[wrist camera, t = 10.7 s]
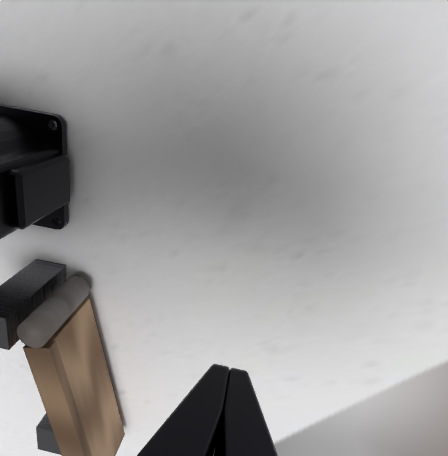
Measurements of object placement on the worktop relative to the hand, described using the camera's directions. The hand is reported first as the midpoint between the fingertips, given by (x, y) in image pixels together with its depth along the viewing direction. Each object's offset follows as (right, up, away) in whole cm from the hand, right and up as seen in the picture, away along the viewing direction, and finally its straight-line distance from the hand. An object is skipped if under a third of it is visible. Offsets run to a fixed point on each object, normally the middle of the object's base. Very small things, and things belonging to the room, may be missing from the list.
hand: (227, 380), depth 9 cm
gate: (-9, -6, +16) cm, 19 cm away
